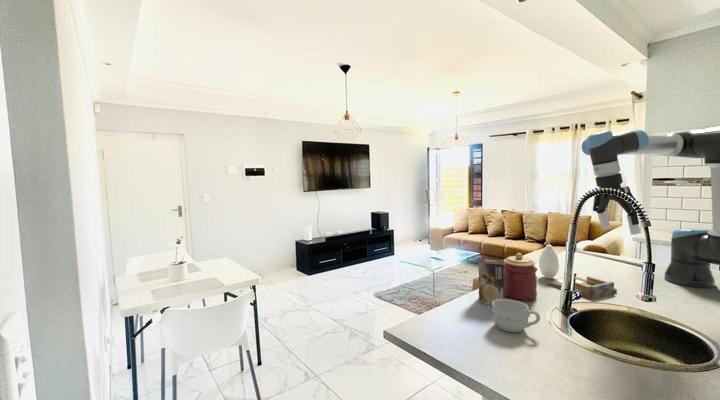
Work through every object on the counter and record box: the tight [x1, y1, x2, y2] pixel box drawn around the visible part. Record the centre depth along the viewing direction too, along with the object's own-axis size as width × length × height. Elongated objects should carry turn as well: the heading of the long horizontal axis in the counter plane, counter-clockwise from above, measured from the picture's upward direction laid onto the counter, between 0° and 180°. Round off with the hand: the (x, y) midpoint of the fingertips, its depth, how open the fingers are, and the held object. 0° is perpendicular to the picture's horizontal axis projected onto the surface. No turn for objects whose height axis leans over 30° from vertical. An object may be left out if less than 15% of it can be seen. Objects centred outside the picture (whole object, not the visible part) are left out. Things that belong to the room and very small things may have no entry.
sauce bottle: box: [538, 240, 560, 280], centre depth 148 cm, size 8×8×18 cm
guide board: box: [547, 276, 618, 300], centre depth 135 cm, size 16×18×4 cm
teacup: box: [491, 298, 541, 333], centre depth 102 cm, size 14×11×8 cm
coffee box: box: [478, 258, 505, 306], centre depth 124 cm, size 9×6×16 cm
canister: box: [503, 252, 538, 303], centre depth 129 cm, size 13×13×18 cm
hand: (620, 231), depth 117 cm, fingers open, 13 cm apart
